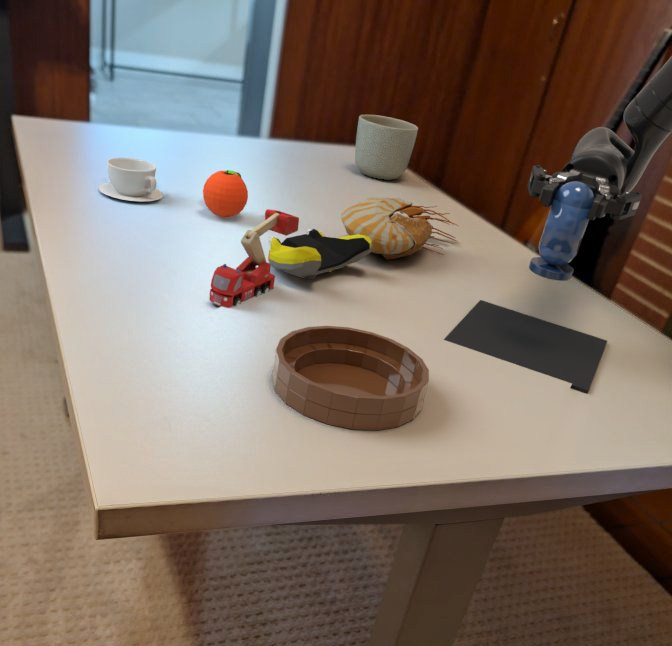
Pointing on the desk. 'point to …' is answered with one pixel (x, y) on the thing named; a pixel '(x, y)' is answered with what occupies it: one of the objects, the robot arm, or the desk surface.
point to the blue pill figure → (563, 231)
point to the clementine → (225, 193)
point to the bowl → (349, 377)
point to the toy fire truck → (250, 264)
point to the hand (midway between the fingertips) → (570, 204)
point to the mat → (530, 343)
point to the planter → (384, 146)
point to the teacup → (131, 180)
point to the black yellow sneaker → (316, 253)
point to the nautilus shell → (392, 225)
